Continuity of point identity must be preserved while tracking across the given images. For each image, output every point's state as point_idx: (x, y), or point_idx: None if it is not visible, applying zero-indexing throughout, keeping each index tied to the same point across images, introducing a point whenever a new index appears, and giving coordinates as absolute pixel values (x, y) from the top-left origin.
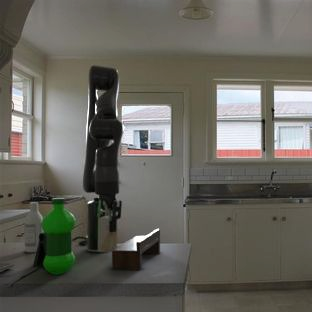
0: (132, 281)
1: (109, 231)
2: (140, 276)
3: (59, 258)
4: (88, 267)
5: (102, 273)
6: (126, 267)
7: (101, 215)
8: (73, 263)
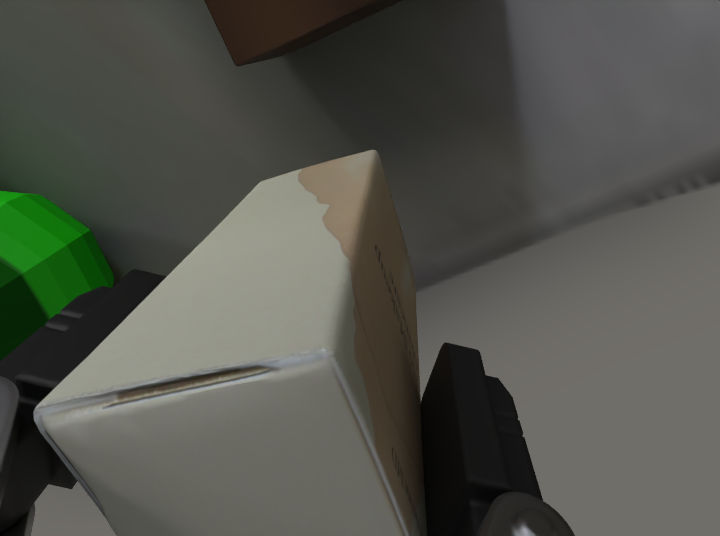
0: (595, 183)
1: (422, 415)
2: (593, 79)
3: None
4: (103, 108)
5: (297, 157)
6: (387, 6)
7: (12, 511)
8: (86, 234)
